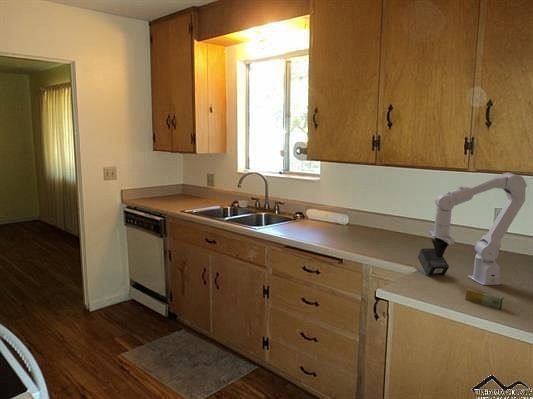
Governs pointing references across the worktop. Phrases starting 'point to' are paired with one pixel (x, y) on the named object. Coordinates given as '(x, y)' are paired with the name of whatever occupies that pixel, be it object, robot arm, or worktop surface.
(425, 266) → the box
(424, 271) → the gray flat panel
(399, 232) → the worktop surface
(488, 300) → the medication box
